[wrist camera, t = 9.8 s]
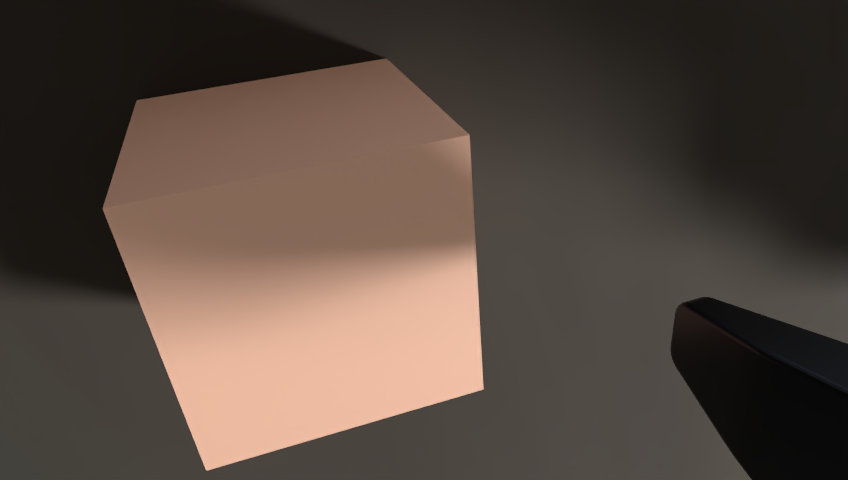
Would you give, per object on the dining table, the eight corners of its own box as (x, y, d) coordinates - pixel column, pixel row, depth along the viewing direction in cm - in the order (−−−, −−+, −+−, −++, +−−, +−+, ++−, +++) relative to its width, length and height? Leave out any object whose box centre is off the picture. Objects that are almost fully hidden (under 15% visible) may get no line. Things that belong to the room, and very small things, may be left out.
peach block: (385, 57, 13) (469, 134, 9) (409, 257, 16) (482, 389, 12) (136, 99, 12) (102, 208, 8) (205, 306, 15) (206, 470, 11)
